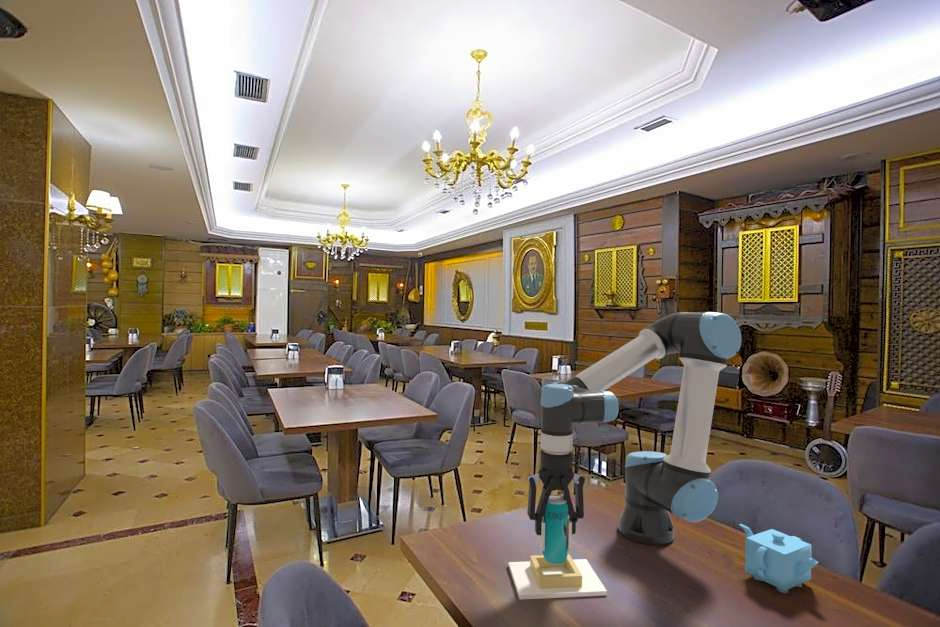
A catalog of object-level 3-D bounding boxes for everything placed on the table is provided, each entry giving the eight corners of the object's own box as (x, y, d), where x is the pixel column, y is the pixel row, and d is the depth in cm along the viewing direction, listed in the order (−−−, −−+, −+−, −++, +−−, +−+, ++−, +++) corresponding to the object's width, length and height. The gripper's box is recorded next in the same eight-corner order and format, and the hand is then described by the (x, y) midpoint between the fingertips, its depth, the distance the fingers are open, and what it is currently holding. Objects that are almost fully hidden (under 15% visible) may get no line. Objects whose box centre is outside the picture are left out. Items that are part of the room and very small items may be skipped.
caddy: (586, 562, 122) (586, 549, 122) (606, 595, 108) (607, 579, 108) (508, 566, 120) (508, 552, 120) (519, 599, 107) (519, 583, 107)
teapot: (796, 609, 104) (797, 557, 104) (719, 569, 120) (720, 524, 120) (835, 590, 111) (836, 541, 111) (758, 555, 127) (759, 512, 127)
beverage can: (567, 569, 111) (568, 504, 111) (542, 566, 112) (543, 501, 112) (567, 556, 117) (568, 495, 117) (543, 554, 118) (544, 492, 118)
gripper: (589, 445, 119) (588, 538, 119) (514, 446, 117) (513, 541, 117) (600, 454, 111) (599, 554, 112) (520, 455, 110) (519, 556, 110)
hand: (555, 547), depth 114 cm, fingers closed on beverage can, 6 cm apart
